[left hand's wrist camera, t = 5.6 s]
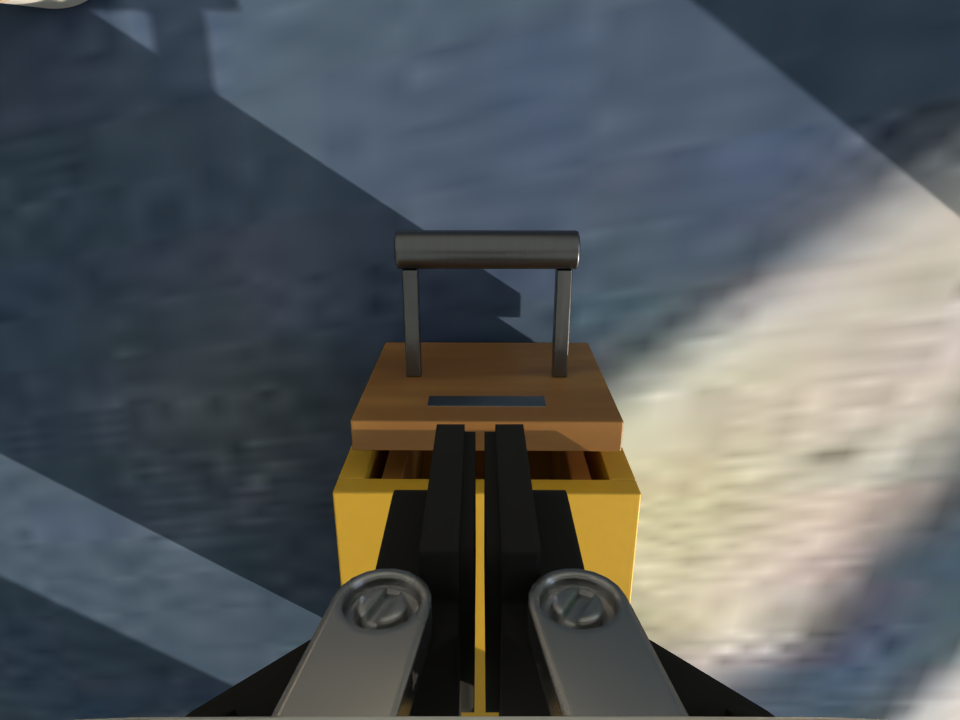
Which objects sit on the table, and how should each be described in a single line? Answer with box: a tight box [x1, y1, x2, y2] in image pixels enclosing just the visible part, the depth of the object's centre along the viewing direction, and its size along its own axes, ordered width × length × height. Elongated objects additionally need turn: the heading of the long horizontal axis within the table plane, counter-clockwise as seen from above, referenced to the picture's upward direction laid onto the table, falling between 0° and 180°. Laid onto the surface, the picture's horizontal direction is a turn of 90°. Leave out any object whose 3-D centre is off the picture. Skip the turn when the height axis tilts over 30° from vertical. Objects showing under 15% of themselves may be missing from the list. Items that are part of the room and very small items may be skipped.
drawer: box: [350, 230, 624, 480], centre depth 29 cm, size 22×10×9 cm, turn 0°
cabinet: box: [333, 446, 641, 716], centre depth 31 cm, size 18×11×10 cm, turn 0°
